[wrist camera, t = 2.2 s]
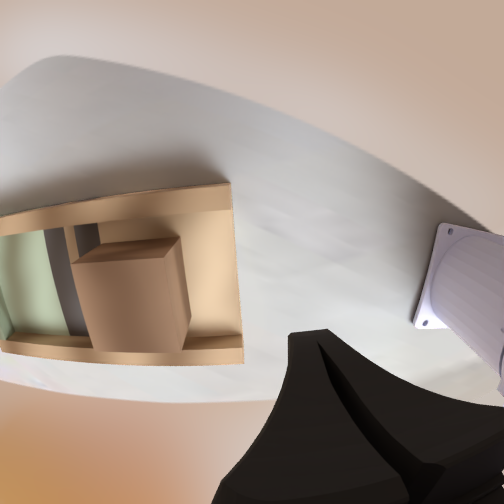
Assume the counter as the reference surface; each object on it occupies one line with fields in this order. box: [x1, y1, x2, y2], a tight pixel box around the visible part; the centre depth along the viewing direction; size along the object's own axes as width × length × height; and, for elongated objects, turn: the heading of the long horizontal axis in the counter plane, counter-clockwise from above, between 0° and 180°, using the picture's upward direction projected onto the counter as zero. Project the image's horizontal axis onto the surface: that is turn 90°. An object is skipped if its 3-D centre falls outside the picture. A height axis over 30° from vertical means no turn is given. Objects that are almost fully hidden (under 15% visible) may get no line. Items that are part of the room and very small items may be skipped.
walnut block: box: [71, 237, 192, 353], centre depth 16 cm, size 5×5×4 cm
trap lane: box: [0, 183, 244, 366], centre depth 17 cm, size 20×10×2 cm, turn 94°
